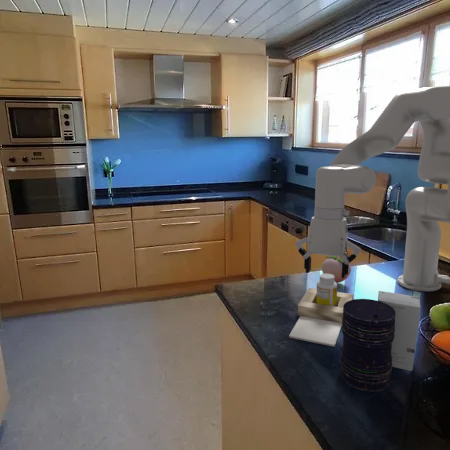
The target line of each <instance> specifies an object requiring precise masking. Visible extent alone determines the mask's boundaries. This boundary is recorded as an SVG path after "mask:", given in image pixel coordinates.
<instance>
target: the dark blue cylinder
mask: <svg viewBox="0 0 450 450" xmlns="http://www.w3.org/2000/svg"><path fill="white" fill-rule="evenodd" d="M395 316H396V312H395V310H394V309H393V308H392V307H391V306H389V305H388V304H385V303H383V302H380V301H378V300H376V299H369V298H355V299H354V298H353V300H350V301H348V302H346V303H345V304H344V306H343V317H342V327H341V331H342V334H343V337H342V346H341V348H340V349H341V352H340V377H341V378H342V379H343V381H344V382H345V383H346V384H348V385H349V386H350V387H352V388H355V389H357V390H360V391H364V392H380V391H384V390H386V389H387V388H388V387H389V386H390V384H391V376H392V370H393V367H392V355H391V349H392V342H393V340H394V336H395V335H394V332H395Z"/></svg>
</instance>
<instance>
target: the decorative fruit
mask: <svg viewBox="0 0 450 450" xmlns="http://www.w3.org/2000/svg"><path fill="white" fill-rule="evenodd" d="M325 258H326V259H325V260H324V261H323V263H322V265H321V270H322V271H321V272H322V274H332V275H334V277H335V278H334V279H335V282H336V283H337V284H339V283H343V282H344V281H346V280H347V279H348V278H349V276H350V274H351V271H352V269H351V265H350V264H349V269H348V275H345V278H342V277H341V276H342V264H343V260H342V259H341V258H340V257H336V256H328V255H325Z"/></svg>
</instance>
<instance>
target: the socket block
mask: <svg viewBox="0 0 450 450" xmlns="http://www.w3.org/2000/svg"><path fill="white" fill-rule="evenodd" d="M354 297H355V296H354V293H353V294H352V293H347V292H339V291H337V305H338V306H337V307H334V306H328V305H322V304H316V300H317V288H313V287H312V288H311V287H308V289H307V291H306V292H305V293H304V295H303V296H302V299H301V300H300V301H299V303H298V305H297V316H298V317H300V316H303V317H308V318H314V319H319V320H325V321H331V322H336V323H342V317H343V306H344V304H345V303H346V302H348V301H350V300H354Z"/></svg>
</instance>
